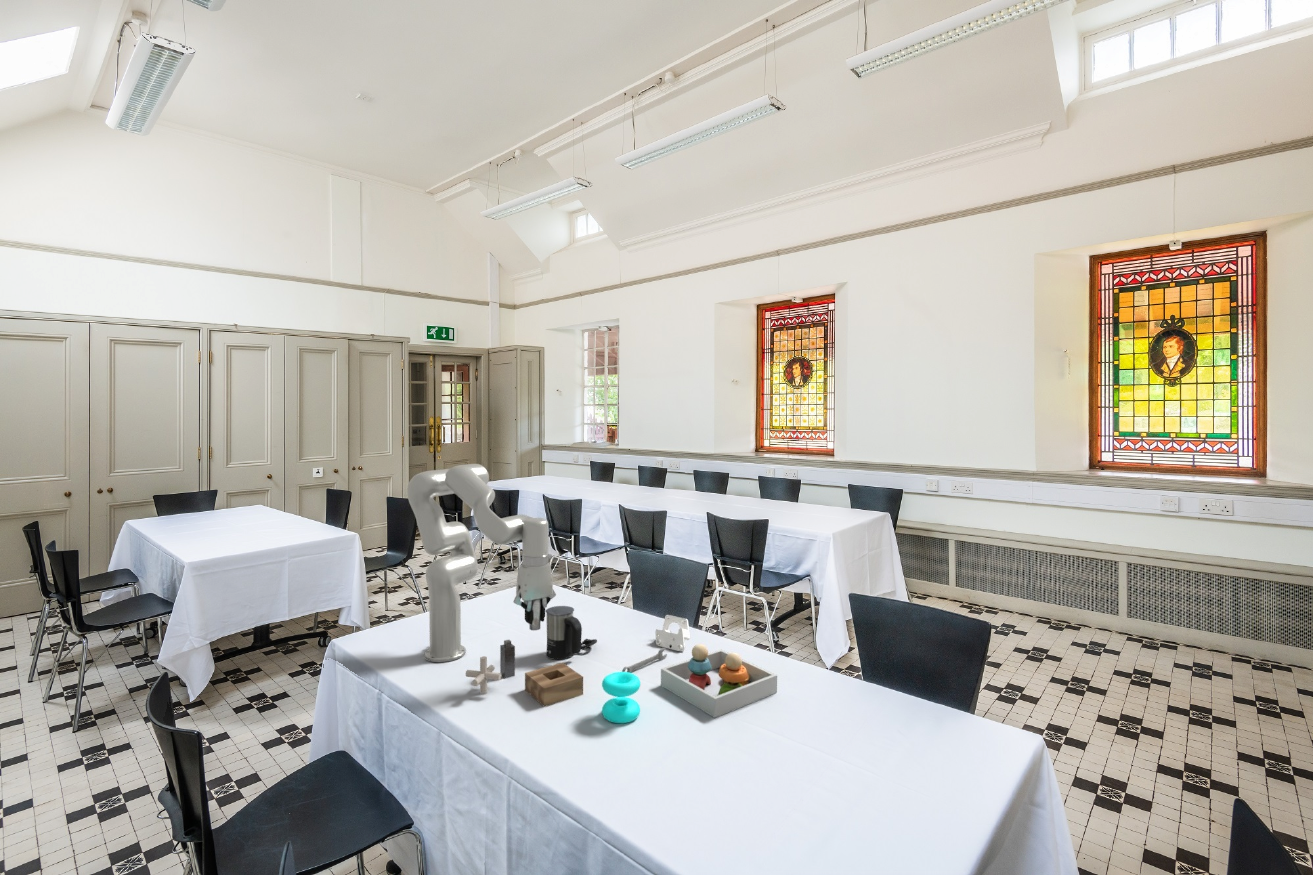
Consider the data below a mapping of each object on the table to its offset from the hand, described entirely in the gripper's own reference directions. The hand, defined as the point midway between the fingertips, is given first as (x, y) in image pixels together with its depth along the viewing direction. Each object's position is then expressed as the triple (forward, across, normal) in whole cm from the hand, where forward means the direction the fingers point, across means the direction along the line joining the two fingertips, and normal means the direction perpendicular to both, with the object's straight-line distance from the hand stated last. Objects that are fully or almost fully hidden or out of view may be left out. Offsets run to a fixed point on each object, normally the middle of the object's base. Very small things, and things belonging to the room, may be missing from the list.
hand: (534, 620), depth 179 cm
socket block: (+17, 0, +12) cm, 21 cm away
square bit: (+17, +6, -6) cm, 19 cm away
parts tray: (+17, -39, +38) cm, 57 cm away
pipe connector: (+17, +16, 0) cm, 23 cm away
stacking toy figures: (+17, -40, +37) cm, 57 cm away
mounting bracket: (+17, -50, +5) cm, 53 cm away
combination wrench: (+17, -31, +14) cm, 38 cm away
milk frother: (+17, -18, -10) cm, 27 cm away
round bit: (+2, 0, 0) cm, 2 cm away
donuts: (+17, -8, +34) cm, 39 cm away
